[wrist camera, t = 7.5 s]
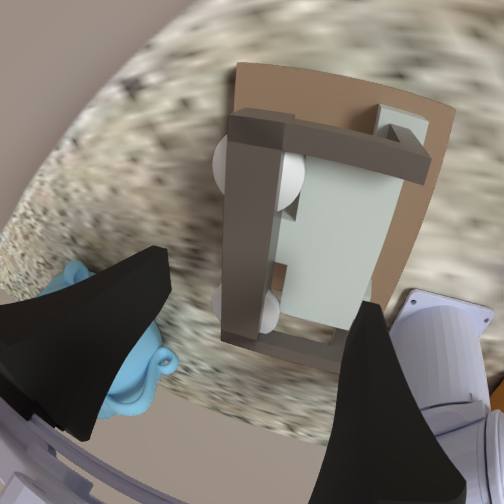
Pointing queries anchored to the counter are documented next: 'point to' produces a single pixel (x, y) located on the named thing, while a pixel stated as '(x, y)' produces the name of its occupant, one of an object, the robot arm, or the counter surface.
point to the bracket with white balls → (270, 212)
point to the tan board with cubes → (345, 191)
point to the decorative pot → (135, 365)
